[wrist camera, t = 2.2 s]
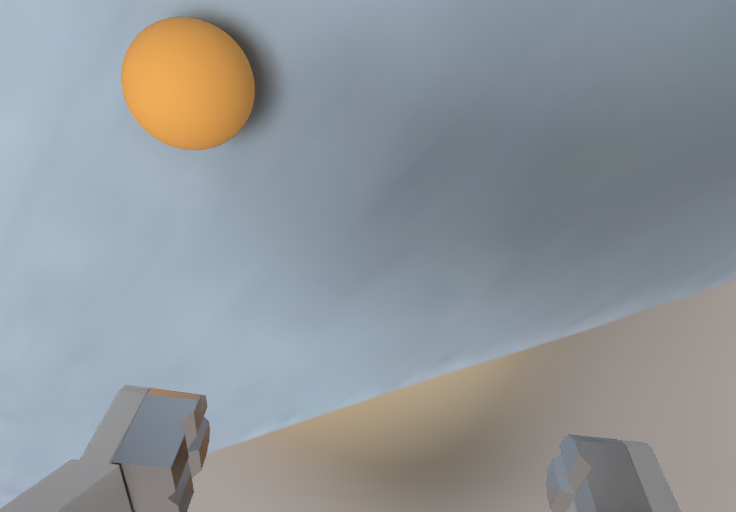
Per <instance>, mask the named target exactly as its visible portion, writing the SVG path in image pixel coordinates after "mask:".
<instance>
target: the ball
mask: <svg viewBox="0 0 736 512" xmlns="http://www.w3.org/2000/svg"><path fill="white" fill-rule="evenodd" d="M121 81H122V89H123V94H124V98H125V100H126V103H127V106H128V108H129V110H130V112H131V113H132V115H133V116H134V118H135V119H136V120H137V122H138V123H139V124H140V125H141V126H142V127H143V128H144V129H145V130H146V131H147V132H148V133H149V134H150V135H152V136H153V137H155V138H156V139H158V140H159V141H161V142H163V143H165V144H167V145H170V146H173V147H176V148H180V149H186V150H204V149H208V148H213V147H216V146H219V145H221V144H223V143H225V142H226V141H228V140H230V139H231V138H232V137H234V136H235V135H236V134H237V133H238V132H239V131H240V130H241V129H242V127H243V126H244V125H245V123H246V121H247V120H248V118H249V116H250V113H251V111H252V108H253V103H254V97H255V82H254V76H253V72H252V69H251V66H250V63H249V61H248V59H247V57H246V55H245V54H244V52H243V50H242V49H241V48H240V46H239V45H238V44H237V43H236V41H235V40H234V39H233V38H232V37H231V36H229V35H228V34H227V33H226V32H224V31H223V30H221V29H220V28H218V27H217V26H215V25H213V24H211V23H208V22H206V21H203V20H200V19H195V18H190V17H174V18H168V19H164V20H161V21H158V22H156V23H154V24H152V25H150V26H149V27H147V28H145V29H144V30H143V31H142V32H141V33H140V34H139V35H137V36H136V38H135V39H134V40H133V42H132V43H131V45H130V46H129V48H128V50H127V52H126V55H125V57H124V61H123V66H122V72H121Z"/></svg>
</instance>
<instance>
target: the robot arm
mask: <svg viewBox="0 0 736 512" xmlns="http://www.w3.org/2000/svg"><path fill="white" fill-rule="evenodd" d="M206 409H207V401H206V395H199V394H192V393H184V392H177V391H170V390H162V389H155V388H148V387H139V386H131V385H125V386H124V387H123V388H122V389H121V390H120V391H119V392H118V393H117V395H116V396H115V398H114V400H113V402H112V404H111V405H110V407H109V409H108V411H107V412H106V414H105V416H104V418H103V419H102V421H101V423H100V425H99V426H98V428H97V430H96V432H95V434H94V435H93V437H92V439H91V441H90V442H89V444H88V446H87V448H86V449H85V451H84V453H83V455H82V456H81V458H80V460H73V459H71V460H70V461H68V462H67V463H65V464H64V465H63V466H61V467H60V468H58V469H57V470H55V471H54V472H52V473H51V474H50V475H48V476H47V477H45V478H44V479H42V480H41V481H39V482H38V483H37V484H35V485H34V486H32V487H31V488H29V489H28V490H26V491H25V492H24V493H22V494H21V495H19V496H18V497H16V498H15V499H13V500H12V501H11V502H9V503H8V504H6V505H5V506H3V507H2V508H1V509H0V512H187V510H188V507H189V504H190V502H191V498H192V496H193V493H194V489H193V483H192V478H193V477H194V476H195V475H196V474H197V473H198V472H200V471H201V470H202V467H203V464H204V461H205V457H206V454H207V449H208V444H209V436H210V426H209V421H208V420H207V419H206V418H205V417H204V415H205V412H206ZM560 450H561V455H560V456H558V457H556V458H554V459H552V461H551V463H550V466H549V468H548V471H547V480H546V488H547V497H548V502H549V506H550V509H551V510H552V511H553V512H680V510H679V507H678V505H677V503H676V501H675V498H674V496H673V494H672V492H671V490H670V487H669V485H668V483H667V481H666V478H665V476H664V474H663V472H662V470H661V468H660V465H659V463H658V461H657V458H656V456H655V454H654V452H653V450H652V448H651V447H650V446H649V445H648V444H647V443H642V442H633V441H623V440H617V439H610V438H600V437H589V436H579V435H567V436H565V437H564V438H563V440H562V441H561V443H560Z"/></svg>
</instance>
